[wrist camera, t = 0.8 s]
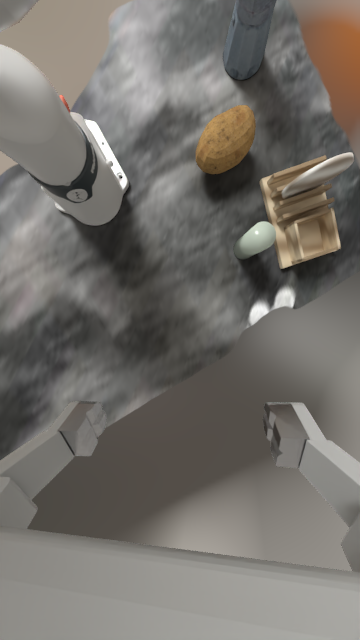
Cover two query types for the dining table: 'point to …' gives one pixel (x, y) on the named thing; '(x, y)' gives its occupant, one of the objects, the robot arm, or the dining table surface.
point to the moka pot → (247, 37)
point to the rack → (303, 209)
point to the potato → (226, 140)
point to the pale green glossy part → (255, 240)
